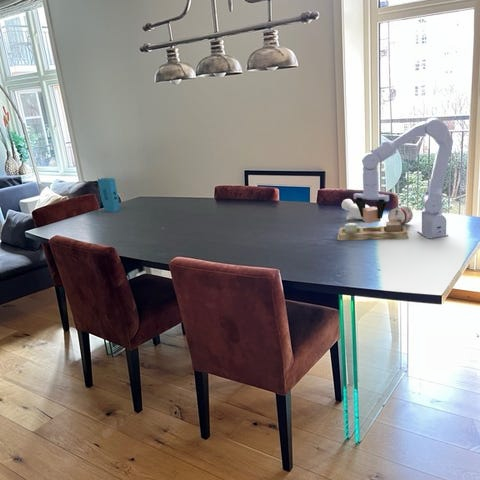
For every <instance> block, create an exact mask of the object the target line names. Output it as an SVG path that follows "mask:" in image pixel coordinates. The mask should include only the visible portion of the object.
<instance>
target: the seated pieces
mask: <svg viewBox="0 0 480 480" xmlns="http://www.w3.org/2000/svg"><path fill="white" fill-rule="evenodd" d="M385 223H386V225H385V226H386V229H387V232H400V226H401V225H400V222H399V221H395V222H389V221H385ZM357 227H358V224H357V223H356V222H355V223H354V222H349V223H345V224H344V228H345V233H357Z"/></svg>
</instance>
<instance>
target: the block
mask: <svg viewBox="0 0 480 480" xmlns="http://www.w3.org/2000/svg"><path fill="white" fill-rule="evenodd" d="M97 184H98V189H99V193H100V194H99V196H100V200H101V204H102V206H103V209H104V211H105V212H108V213H115V212H118V211H120V204H119V203H120V201H119V196H118V194H119V193H118V190H117V185H116V184H117V183H116V179H115V178H114V177H111V178H109V177H103V178H98V179H97Z"/></svg>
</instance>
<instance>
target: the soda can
mask: <svg viewBox="0 0 480 480" xmlns="http://www.w3.org/2000/svg"><path fill="white" fill-rule="evenodd" d="M413 213H414V212H413V210H412V209H411V208H410V207H408V206H399V207H395V208H392V209H391V210H390V211H389V212H388V216H387V220H388V222H395V221H399V222H400V226H404V225H405V224H408V223H410V222H411V221H412V219H413V216H414V214H413Z"/></svg>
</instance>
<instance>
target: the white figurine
mask: <svg viewBox="0 0 480 480" xmlns="http://www.w3.org/2000/svg"><path fill="white" fill-rule="evenodd" d="M368 207H370V205H368V204H366V205H365V208H368ZM341 208H342V210H343V209H344V210H345V211H349V214H348V215H347V216H346V217H345V220H346V221H348V220H350V219H352V218H355V219H357V220H363V217H361V214H360V211H359V208H358V206H357V205H356V203H355V202H354V201H353V200H352V199H351V198H346V199H343V201H342V202H341ZM364 222H365V221H364Z"/></svg>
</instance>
